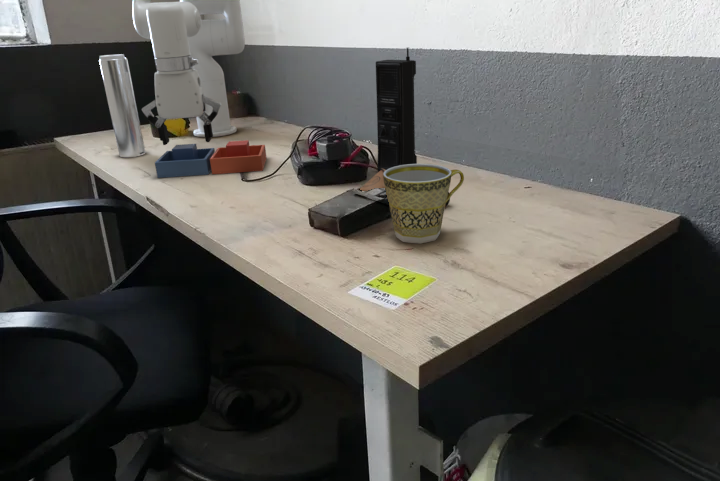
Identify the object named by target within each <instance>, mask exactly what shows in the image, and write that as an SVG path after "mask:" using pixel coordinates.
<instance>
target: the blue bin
mask: <svg viewBox="0 0 720 481" xmlns="http://www.w3.org/2000/svg"><path fill="white" fill-rule="evenodd" d="M197 151H198V157H199V159H193V160H178V161H174V160H173V154H172V150H166V152H164V153H163V154H162V155H161V156H160V157H159V158H158V159H157V160H156V161H155V162H154V165H155V166H154V167H155V171H156V172H155V173H156V178H157V179H162V178H177V177H178V178H179V177H192V176H205V175H207V176H208V175H209V174H210V173H211V172H212V170H211V163H210V158H211V157H212V155H213V154H214V152H215V151H216V149H215V147H210V148H209V147H207V148H206V147H205V148H197Z"/></svg>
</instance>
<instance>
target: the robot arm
mask: <svg viewBox="0 0 720 481" xmlns="http://www.w3.org/2000/svg"><path fill="white" fill-rule="evenodd" d="M201 15H202V16H203V15H223V16H224V18H216V19H211V18H210V19H209V18H208V19H202V16H201ZM132 20H133V21H132V22H133V26H134V28H135V32H137V34H138V35H139V36H140V37H142V38H143V39H146V40H151V44H152V45H151V46H152V52H153V56H154V63H155V68H156V71H155V72H154V78H153V79H154V80H153V81H154V95H155V97H154V98H155V99H153V100H152V101H151V102H149V103H148V104H146V105H145V106H143V107H142V108H141V112H142V113H143V114H144V116H145V117H146V118H147V120H148V121H149V122H150V123H151V124H153V125H154V126H155V128H157V130H158V136H159V141H161V142H162V145H163V146H166V145H168V144H169V142H170V136H169V132H168V126H167V125H166V124H165V122H166V121H167V120H169V119H170V120H171V119H172V120H173V119H188V118H189V119H190V118H196V123H197V128H195V129H194V130H193V136H194V137H198V138H204V139H205V142H206V143H210V142H211V140H212V138H215V137H223V136H229V135H233V134H235V133H237V131H238V130H237V127H236V126H235V125H231V117H230V111H229V104H228V102H229V101H228V96H227V87H226V81H225V73H224V71H223V70H224V69H223V68H222V66H221V65H220V64H219V63H218V62H217V61H216V60H215V59H214V58H213V57H214V56H215V57H217V56H226V55H227V56H228V55H238V54H241V53H242V52H243V51H244V50H245V46H246V41H245V40H246V39H245V30H244V22H243V15H242V8H241V1H240V0H179V1H161V2H152V0H132ZM154 108H156V111H157V114H158V116H159V117H157V116H156V115H155V114H153V112H152V110H153V109H154Z"/></svg>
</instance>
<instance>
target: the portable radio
mask: <svg viewBox="0 0 720 481" xmlns="http://www.w3.org/2000/svg"><path fill="white" fill-rule="evenodd" d="M409 49H410V48H409V47H406V56H405V59H383V60H376V61H375V87H376V89H375V91H376V92H375V93H376V120H377V121H376V122H377V124H376V126H377V128H376V129H377V171H378V172H379V171H380V168H383V169H385V170H387V169H389V168H392V167H395V166H400V165H406V164H418V156H417V154H416V145H415V144H416V139H415V138H416V137H415V136H416V135H415V133H416V131H415V76H416V74H417V61H416V60H415V59H411V56H409V55H410V52H409Z"/></svg>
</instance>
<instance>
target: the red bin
mask: <svg viewBox="0 0 720 481" xmlns="http://www.w3.org/2000/svg"><path fill="white" fill-rule="evenodd" d="M249 148H250V156H239V157H227V150H226V146H223V147H221V146H220V147H217V148H216V149H215V152H214V154H213V155H212V157H211V158H210V163H211V174H212V175H221V174H236V173H238V174H239V173H251V172H263V171H264V168H265V165H266V161H267V152H266V144H255V145H254V144H252V145H249Z"/></svg>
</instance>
